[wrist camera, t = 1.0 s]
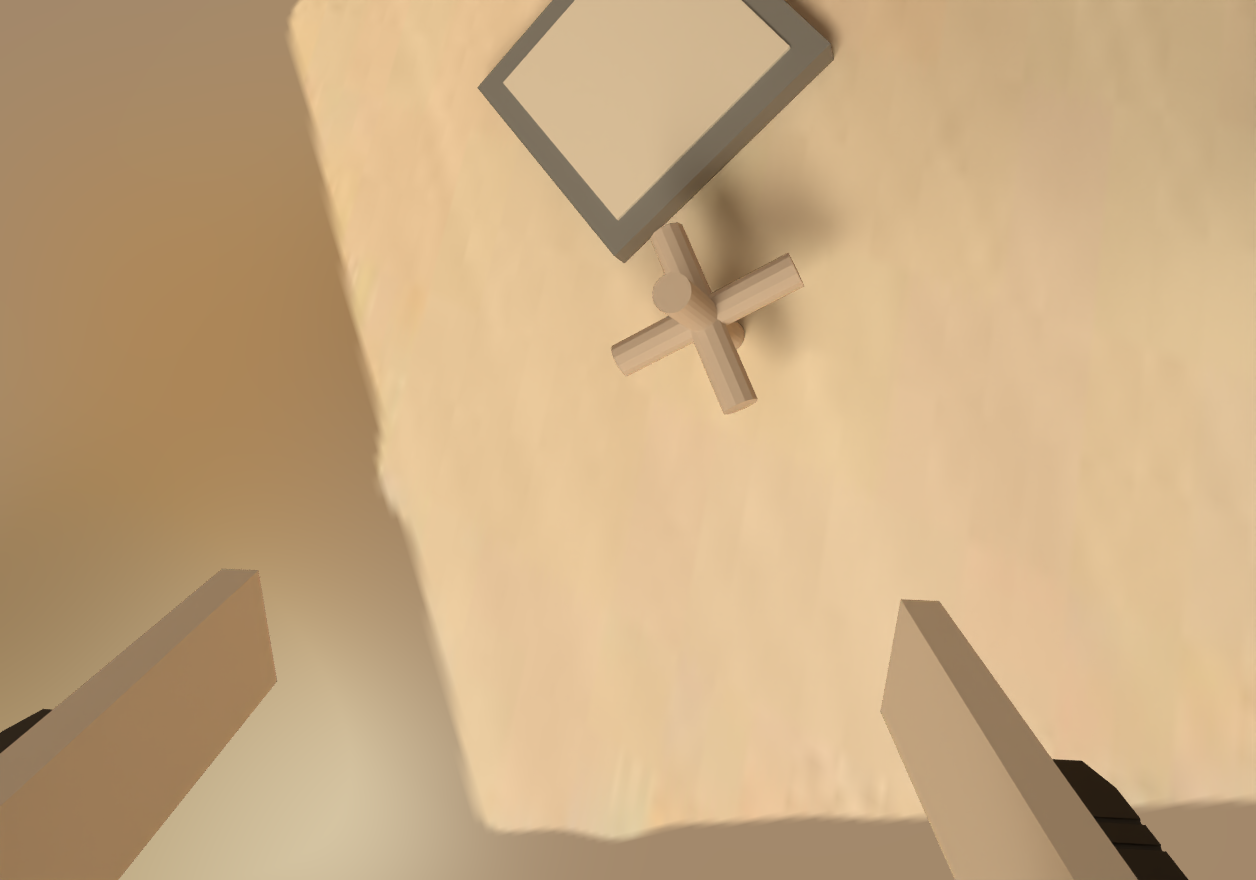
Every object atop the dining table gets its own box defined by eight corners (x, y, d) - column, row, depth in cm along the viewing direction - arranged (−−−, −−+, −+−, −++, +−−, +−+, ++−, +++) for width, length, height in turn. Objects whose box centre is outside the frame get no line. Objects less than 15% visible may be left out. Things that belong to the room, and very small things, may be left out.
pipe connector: (684, 450, 40) (615, 442, 31) (624, 301, 42) (542, 251, 33) (848, 376, 37) (826, 342, 27) (774, 217, 39) (731, 136, 29)
